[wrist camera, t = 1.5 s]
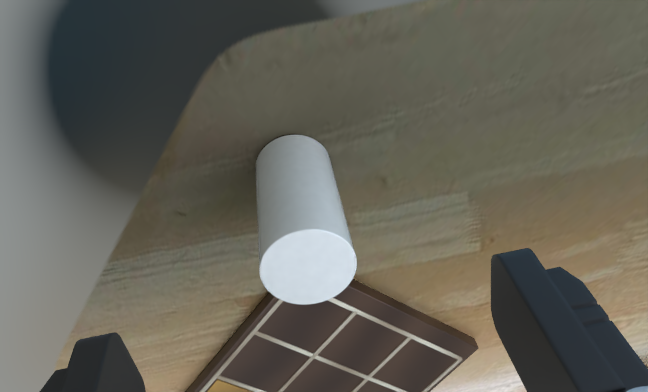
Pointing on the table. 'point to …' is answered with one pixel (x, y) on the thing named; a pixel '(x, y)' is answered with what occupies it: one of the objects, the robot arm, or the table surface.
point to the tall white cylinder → (301, 223)
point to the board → (336, 348)
